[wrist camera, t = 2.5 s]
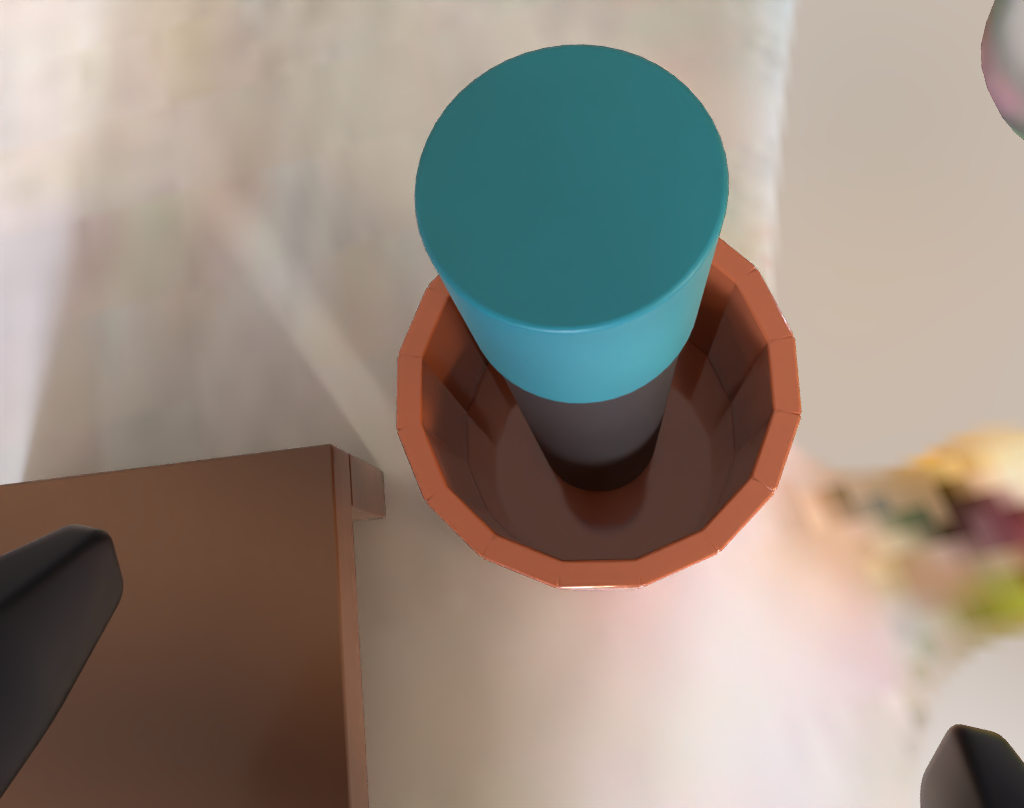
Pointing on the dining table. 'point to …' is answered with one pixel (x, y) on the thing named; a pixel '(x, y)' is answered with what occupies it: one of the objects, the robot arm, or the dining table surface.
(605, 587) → the pen cup
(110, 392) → the dining table surface
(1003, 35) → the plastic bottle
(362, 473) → the shelf
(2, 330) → the dining table surface
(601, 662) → the dining table surface
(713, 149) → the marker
